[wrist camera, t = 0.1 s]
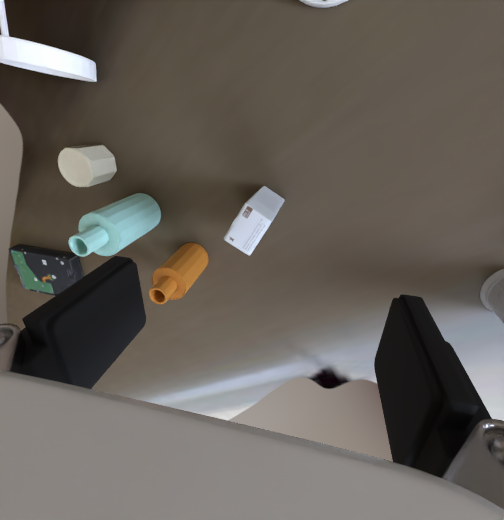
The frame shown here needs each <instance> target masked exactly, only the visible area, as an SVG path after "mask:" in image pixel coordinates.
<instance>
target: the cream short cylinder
mask: <svg viewBox="0 0 504 520" xmlns="http://www.w3.org/2000/svg"><path fill="white" fill-rule="evenodd" d="M58 166H59V169H60V172H61V174H62V175H63V177H64V178H65V179H66V180H67V181H68V182H69V183H70V184H72V185H74V186H77V187H89V186H92V185H96V184H99V183H102V182H105V181H109V180H111V178H112V177H113V176H114V174H115V173H116V171H117V168H116V163H115V157H114V155H113V154H112V153H111V152H110V151H109V150H108V149H107V148H106V147H105V146H104V145H96V144H89V145H82V146H74V147H66V148H65V149H64V150H62V151H61V152H60V154H59V157H58Z"/></svg>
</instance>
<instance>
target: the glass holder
mask: <svg viewBox="0 0 504 520" xmlns="http://www.w3.org/2000/svg"><path fill="white" fill-rule="evenodd" d="M480 298H481V301H482V303H483V304H484V306H485V307H486V308H488V309H489V310H491V311H493V312H495V313H496V315H497V316H498V317H499V318H500V319H501V320H502V322H503V323H504V269H501V270H499V271H497V272H495V273H494V274H493V275H491V276H490V277H489V278H488V279H487V280H486V281H485V282H484V284H483V285H482V287H481V291H480Z"/></svg>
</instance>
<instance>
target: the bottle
mask: <svg viewBox="0 0 504 520" xmlns="http://www.w3.org/2000/svg"><path fill="white" fill-rule="evenodd" d="M160 219H161V211H160V208H159V206H158V204H157V202H156V201H155V200H154V199H153V198H152V197H151V196H149V195H147V194H144V193H136V194H134V195H131V196H129V197H126V198H124V199H122V200H119V201H117V202H114V203H112V204H110V205H107V206H105V207H103V208H100V209H98V210H95V211H93V212H91V213H88V214H86V215H84V216H83V217H82V218H81V220H80V221H79V228H78V229H79V233H78V234H76V235H73V236H72V237H70V238H69V242H68V243H69V247H70V249H71V250H72V251H73V253H75V254H76V255H78V256H82V257H85V256H87V255H88V254H90V253H92V252H95V253H97V254H99V255H102V256H110V255H114V254H116V253H117V252H119V251H120V250H122V249H123V248H124V247H126V246H127V245H129V244H130V243H132V242H133V241H135V240H136V239H138V238H139V237H141V236H142V235H144V234H145V233H147V232H148V231H150V230H151V229H153V228H154V227H155V226H157V225H158V223H159V222H160Z"/></svg>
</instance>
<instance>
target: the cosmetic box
mask: <svg viewBox="0 0 504 520" xmlns="http://www.w3.org/2000/svg"><path fill="white" fill-rule="evenodd" d="M284 201H285V199H283V198H282V197H280V196H279V195H277V194H276V193H274V192H273V191H271V190H270V189H268V188H267V187H266V186H263V187H262V188H261V189H259V190H258V191H257V192H256V193H255V194H254V195H253V196H252V197H251V198H250V199H249V200H248V201H247V202H246V203H245V204H244V205H243V207H242V209H241V210H240V212H239V214H238V215H237V217H236V219H235V220H234V221H233V223H232V225H231V227H230V229H229V230H228V232H227V234H226V236H225V237H224V240H225V241H227V242H228V243H230V244H231V245H233V246H234V247H236V248H238V249H239V250H241V251H242V252H244V253H246V254H247V255H249V256H250V255H251V253H252V252H253V250H254V249H255V247H256V246H257V244H258V243H259V241H260V240H261V238H262V236H263V235H264V233H265V232H266V230H267V229H268V227H269V226H270V224H271V222H272V221H273V219H274V218H275V216H276V215H277V213H278V211H279V210H280V208H281V206H282V204H283V203H284Z"/></svg>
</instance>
